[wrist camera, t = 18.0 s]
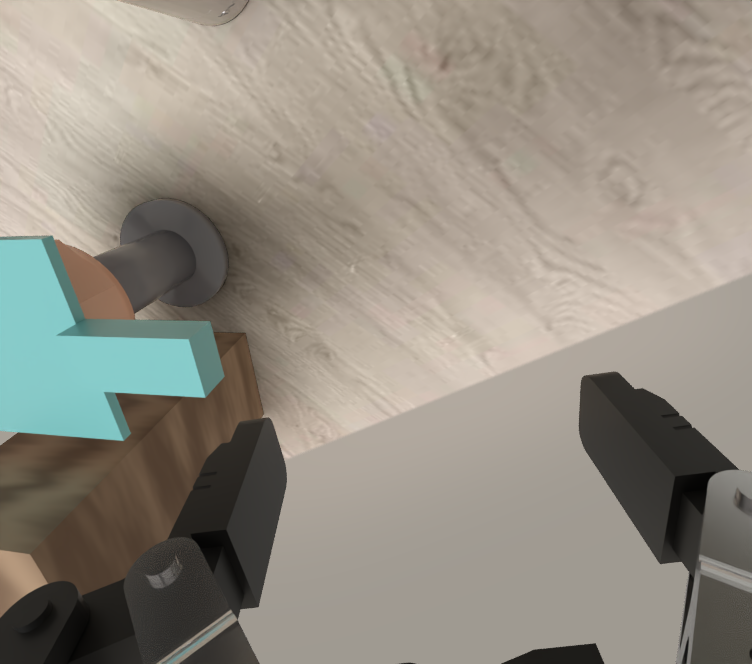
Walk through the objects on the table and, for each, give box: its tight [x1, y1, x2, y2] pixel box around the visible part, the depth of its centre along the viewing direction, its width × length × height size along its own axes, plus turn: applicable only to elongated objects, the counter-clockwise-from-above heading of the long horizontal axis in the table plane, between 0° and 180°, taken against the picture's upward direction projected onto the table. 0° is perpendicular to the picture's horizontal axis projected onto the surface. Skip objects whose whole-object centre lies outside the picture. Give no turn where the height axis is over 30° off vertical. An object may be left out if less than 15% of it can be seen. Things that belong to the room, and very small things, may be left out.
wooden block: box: [0, 332, 263, 618], centre depth 44 cm, size 12×12×30 cm
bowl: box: [54, 198, 229, 320], centre depth 41 cm, size 12×12×22 cm
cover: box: [0, 236, 225, 441], centre depth 30 cm, size 24×15×2 cm, turn 94°
